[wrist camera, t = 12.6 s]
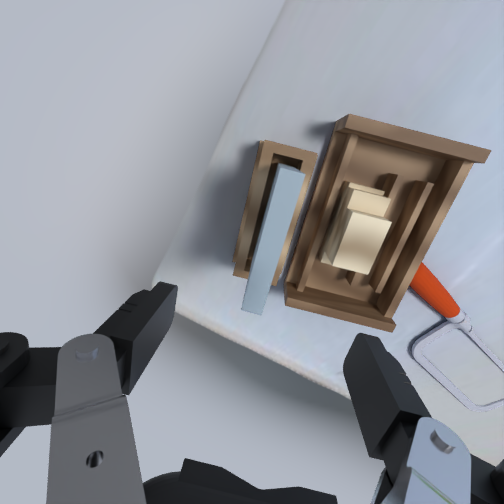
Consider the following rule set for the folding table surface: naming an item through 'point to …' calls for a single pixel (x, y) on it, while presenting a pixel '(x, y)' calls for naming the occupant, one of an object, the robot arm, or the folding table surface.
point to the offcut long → (347, 184)
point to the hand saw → (456, 318)
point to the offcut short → (358, 241)
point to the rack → (398, 212)
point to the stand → (258, 199)
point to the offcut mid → (358, 209)
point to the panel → (272, 236)
